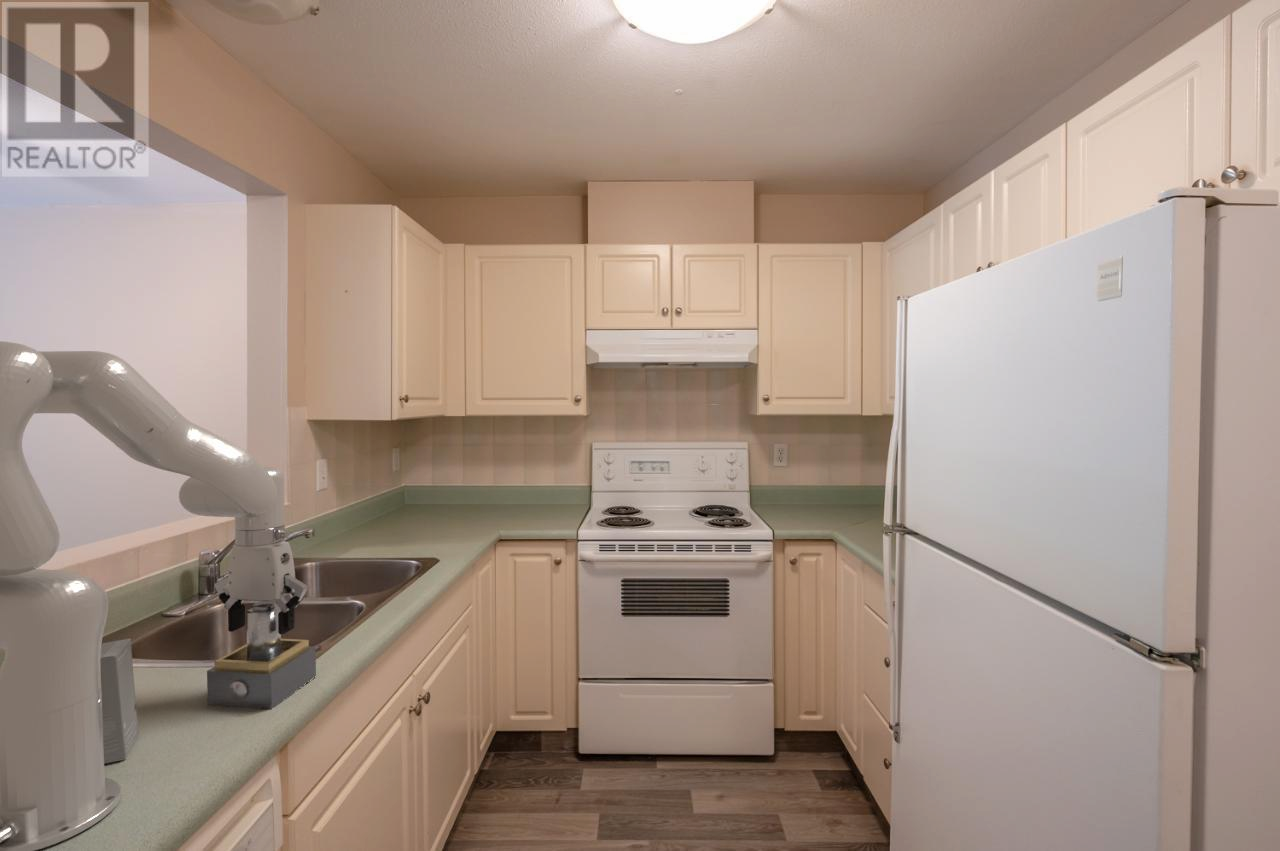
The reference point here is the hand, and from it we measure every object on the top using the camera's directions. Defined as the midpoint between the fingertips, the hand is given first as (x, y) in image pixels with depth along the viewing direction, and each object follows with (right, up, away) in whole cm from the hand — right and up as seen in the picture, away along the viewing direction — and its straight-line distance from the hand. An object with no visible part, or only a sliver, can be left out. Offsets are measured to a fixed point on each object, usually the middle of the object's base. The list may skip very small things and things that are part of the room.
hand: (261, 630), depth 105 cm
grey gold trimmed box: (0, -11, +1) cm, 11 cm away
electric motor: (0, -5, +1) cm, 5 cm away
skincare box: (-12, -12, -18) cm, 25 cm away
